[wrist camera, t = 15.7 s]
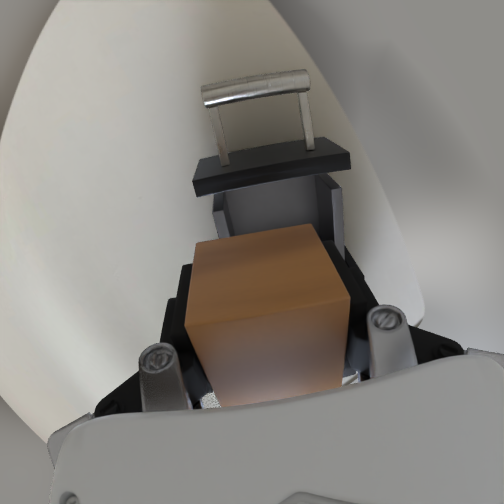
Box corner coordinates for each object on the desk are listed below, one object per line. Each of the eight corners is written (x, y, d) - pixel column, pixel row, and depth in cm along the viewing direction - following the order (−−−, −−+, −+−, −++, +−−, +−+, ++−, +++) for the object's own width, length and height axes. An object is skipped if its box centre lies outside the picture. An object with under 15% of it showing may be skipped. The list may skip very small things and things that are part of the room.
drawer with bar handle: (183, 91, 21) (170, 93, 16) (314, 69, 20) (339, 66, 16) (231, 281, 30) (233, 322, 25) (334, 261, 30) (353, 297, 25)
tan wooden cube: (195, 242, 12) (183, 325, 8) (311, 222, 12) (351, 296, 8) (220, 325, 14) (221, 408, 10) (315, 308, 14) (342, 387, 10)
